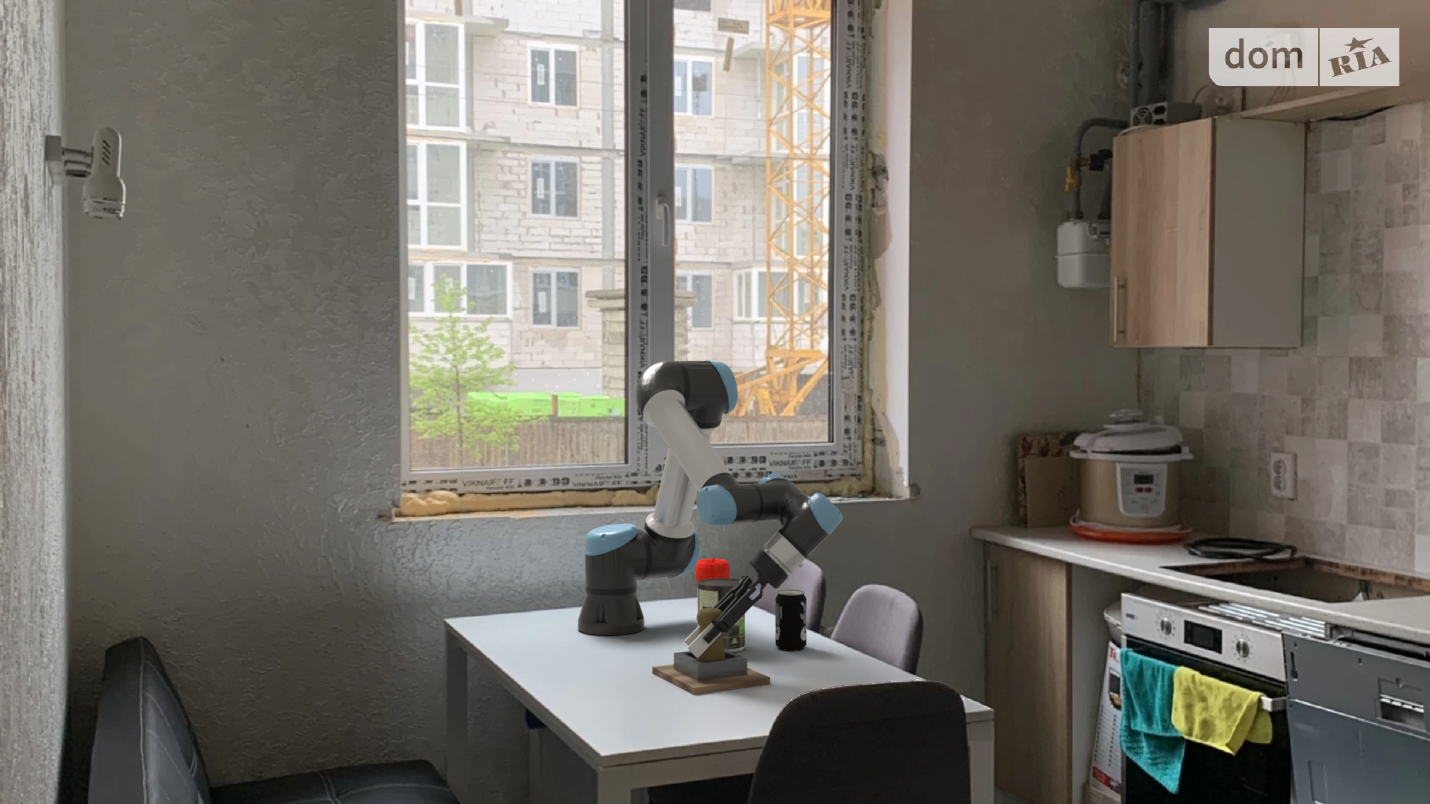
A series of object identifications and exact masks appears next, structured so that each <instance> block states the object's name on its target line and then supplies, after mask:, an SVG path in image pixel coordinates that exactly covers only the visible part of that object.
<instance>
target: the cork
mask: <svg viewBox="0 0 1430 804" xmlns="http://www.w3.org/2000/svg"><path fill="white" fill-rule="evenodd" d="M696 613H697V614H696V622H697V625H698V624H699V626H700V627H699V635H700V634H701V633H702V632H703V631H704V630H705V629H706V628H707V627H708V625H709V624H710V623H711V622H710V620H711V619H714V620H716V619H717V618H718V617H719V616H720V615H721V614H722V611H721V610H720V609H716V608H705V609H701V610H699V612H698V611H697V612H696ZM699 635H698V636H699ZM720 659H725V653H724V645H723V638H722V634H721V635H720V636H719V637H718V638H717V639H716V640H715V641H714V642H713V643H712V644H711V645H710V646H709V647H708V648H707V649H706V650H705V651H704V652H703V653H702V654H701V655H700V656H699V657H698V658H697V657H696V660H699V661H701V662H704V661H712V660H720Z"/></svg>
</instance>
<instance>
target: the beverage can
mask: <svg viewBox="0 0 1430 804" xmlns="http://www.w3.org/2000/svg"><path fill="white" fill-rule="evenodd" d="M774 599H775V600H774V603H775V604H774V605H775V606H774V608H775V610H774V611H775V612H774V615H775V616H774V617H775V618H774V621H775V622H774V624H775V625H774V626H775V630H774V631H775V634H774V635H775V637H774V638H775V639H774V640H775V642H774V643H775V646H776V647H777V649H779V650H780V651H781V650H782V651H788V652H789V651H790V652H796V651H801V650H804V649H805V647H806V646H807V645H808V644H807V640H808V639H807V632H808V631H807V597H806V594H805V591H804V590H801V589H795V588H790V589H789V588H787V589H785V588H784V589H780V590H777V594H776V597H775V598H774Z"/></svg>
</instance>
